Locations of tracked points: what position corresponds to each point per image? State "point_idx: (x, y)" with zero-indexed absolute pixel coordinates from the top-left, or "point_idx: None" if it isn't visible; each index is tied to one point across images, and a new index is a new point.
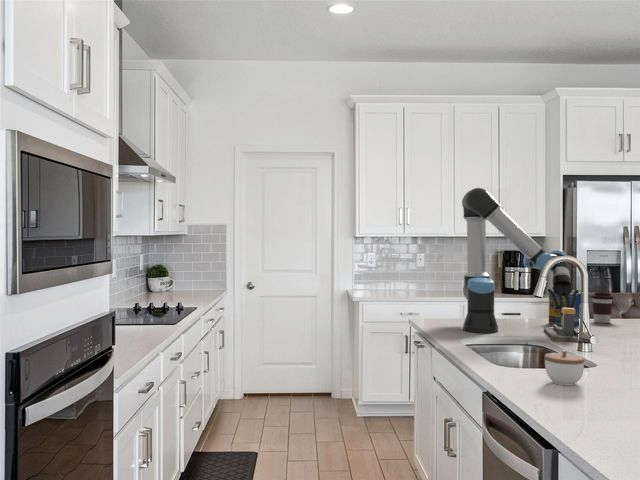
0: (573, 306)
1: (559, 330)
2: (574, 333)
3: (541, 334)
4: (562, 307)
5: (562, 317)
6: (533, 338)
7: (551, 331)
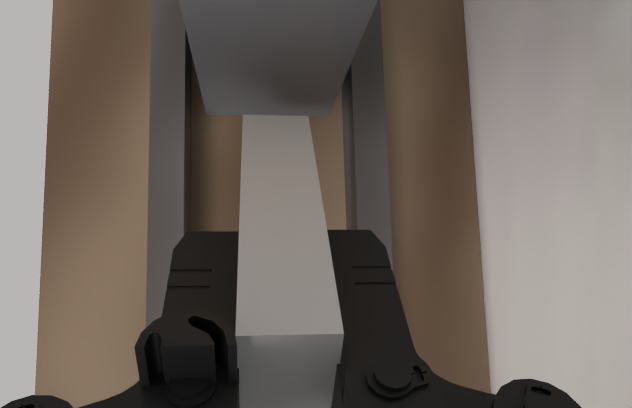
0: (13, 404)
1: (380, 21)
2: (189, 58)
3: (533, 304)
4: (365, 360)
5: (369, 17)
6: (617, 7)
7: (437, 300)
